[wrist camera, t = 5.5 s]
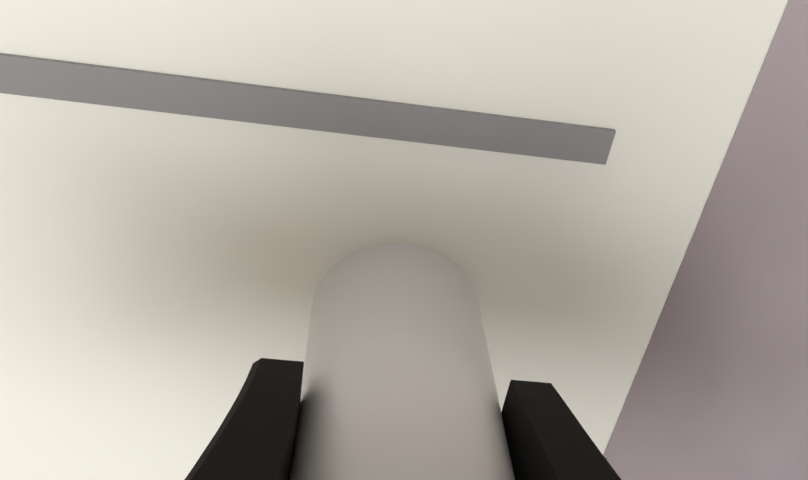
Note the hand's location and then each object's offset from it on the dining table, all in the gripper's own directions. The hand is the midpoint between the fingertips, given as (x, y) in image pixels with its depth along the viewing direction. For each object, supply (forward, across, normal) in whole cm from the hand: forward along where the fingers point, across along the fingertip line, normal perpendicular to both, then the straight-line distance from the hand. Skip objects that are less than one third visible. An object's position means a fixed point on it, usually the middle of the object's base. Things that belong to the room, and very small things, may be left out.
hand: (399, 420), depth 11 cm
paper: (+3, +3, 0) cm, 4 cm away
